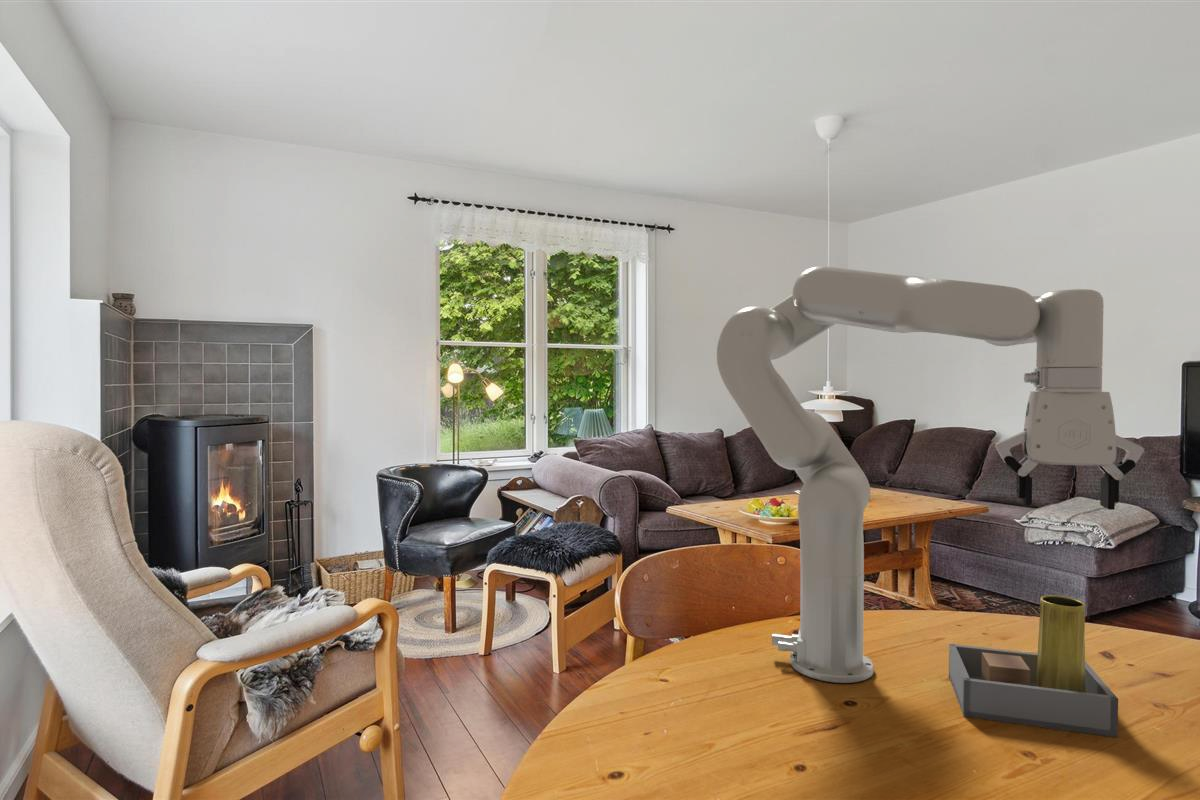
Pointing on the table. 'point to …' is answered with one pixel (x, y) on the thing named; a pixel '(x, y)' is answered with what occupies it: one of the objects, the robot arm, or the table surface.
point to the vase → (1061, 644)
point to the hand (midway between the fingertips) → (1065, 505)
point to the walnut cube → (1005, 669)
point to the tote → (1031, 696)
